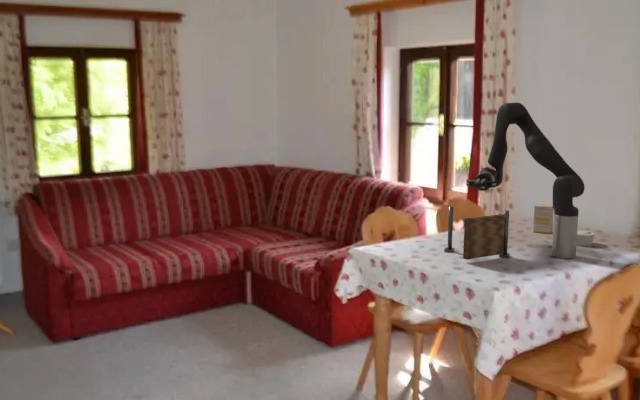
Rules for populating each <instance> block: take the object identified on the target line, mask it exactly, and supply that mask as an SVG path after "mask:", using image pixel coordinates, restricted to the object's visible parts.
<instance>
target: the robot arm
mask: <svg viewBox="0 0 640 400" xmlns="http://www.w3.org/2000/svg"><path fill="white" fill-rule="evenodd" d="M510 125H516V126H517V127H518V128H519V129H520V130H521V132H522V134H523V135H524V143H525V148H526V150H527V152H528V153H529V155H530V156H531V157H532V158H533V159H534V160H535V162H536V163H537V164H539V165H540V166H542V167H543V168H545V170H548V171H550V172H551V173H552V174H553V175H554V176H555V177H556V179H554V182H553V184H552V185H553V186H552V206H553V208H554V211H553V232H552V240H551V241H552V243H551V256H552V257H554V258H558V259H576V257H577V256H576V255H577V245H576V243H577V230H578V225H579V224H578V223H579V208H578V207H576V206H575V205H574V204H573V201H574V200H573V199H574V198H579V197H580V196H582V195H583V194H584V192H585V189H586V188H585V183H584V181H583V179H582V178H581V176H580V175H579V174H578V173H577V172H576V171H575V170H574V169H573V168H572V167H571V166H570V165H569V164H568V163H567V162H566V160H565V159H564V158H563V157H562V156H561V154H560V153H559V152H558V151H557V149H556V148H555V147H554V145H553V144H552V143H551V141H550V140H549V139H548V138H547V137H546V135H544V132H542V130H541V129H540V128H539V126H538V125H537V124H536V122H535V121H534V120H533V117H532V116H531V114H530V113H529V111H528V109H527V108H526V106H525V105H523V103H520V102H506V103H503V104H501V105H500V106H499V107H498V111H497V115H496V121H495V129H494V135H493V142H492V146H491V149H490V152H489V155H488V159H487V163H488V165H489V166H491V168H490V167H486V166H485V167H482V169H480V171H479V174H477V175H476V176H475V178H474V179H466V183H465V184H466V186H467V187H470V188H475V190H476V189H477V190H478V191H480V192H486V191H487V190H489V189H491V188H496V187H499V186H500V185H501V184H502V182H503V179H504V171H503V170H504V164H505V161H506V157H507V154H508V150H509V149H508V141H507V132H508V129H509V126H510ZM492 167H493V169H492Z"/></svg>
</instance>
